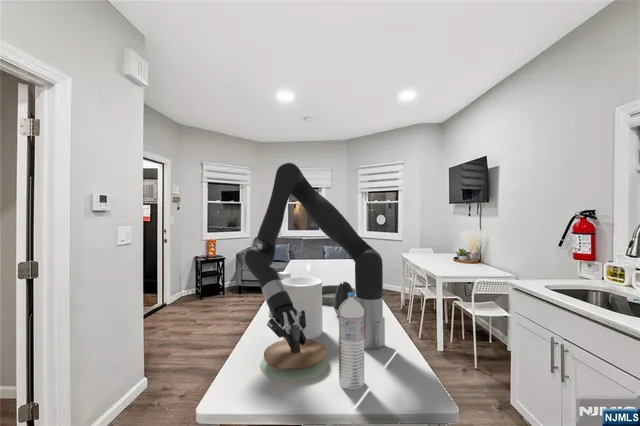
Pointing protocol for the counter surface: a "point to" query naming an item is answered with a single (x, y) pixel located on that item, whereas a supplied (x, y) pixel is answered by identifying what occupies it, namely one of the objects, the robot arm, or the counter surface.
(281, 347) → the lid
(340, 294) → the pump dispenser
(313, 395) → the counter surface
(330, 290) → the cake pan
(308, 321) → the canister
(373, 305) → the robot arm
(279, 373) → the mat
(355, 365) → the water bottle
